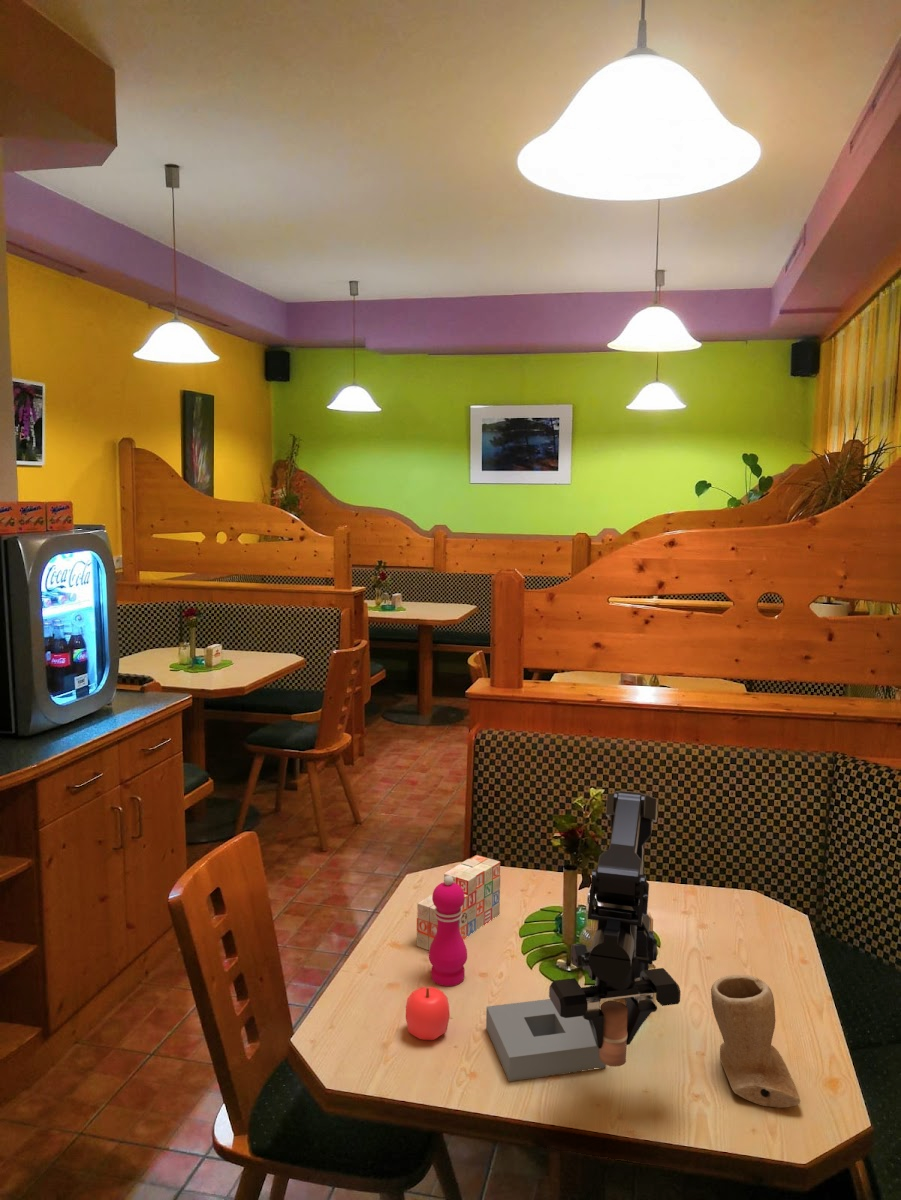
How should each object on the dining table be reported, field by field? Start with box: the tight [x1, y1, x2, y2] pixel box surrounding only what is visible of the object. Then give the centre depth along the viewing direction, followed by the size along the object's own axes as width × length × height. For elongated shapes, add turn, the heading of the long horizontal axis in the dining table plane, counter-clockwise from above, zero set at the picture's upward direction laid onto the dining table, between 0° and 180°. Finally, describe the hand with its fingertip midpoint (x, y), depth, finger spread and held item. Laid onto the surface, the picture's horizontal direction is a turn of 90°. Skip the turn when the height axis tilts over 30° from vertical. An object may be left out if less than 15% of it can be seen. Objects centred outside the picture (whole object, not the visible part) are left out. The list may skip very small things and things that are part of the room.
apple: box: [405, 986, 450, 1041], centre depth 152 cm, size 8×8×8 cm
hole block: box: [485, 998, 607, 1082], centre depth 148 cm, size 16×14×4 cm
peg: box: [599, 1000, 628, 1067], centre depth 134 cm, size 4×4×8 cm
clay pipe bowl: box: [710, 974, 801, 1108], centre depth 140 cm, size 15×12×15 cm
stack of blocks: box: [416, 854, 501, 951], centre depth 186 cm, size 21×6×12 cm, turn 144°
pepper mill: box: [428, 876, 468, 987], centre depth 168 cm, size 7×7×20 cm
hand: (612, 1045), depth 135 cm, fingers closed on peg, 4 cm apart
